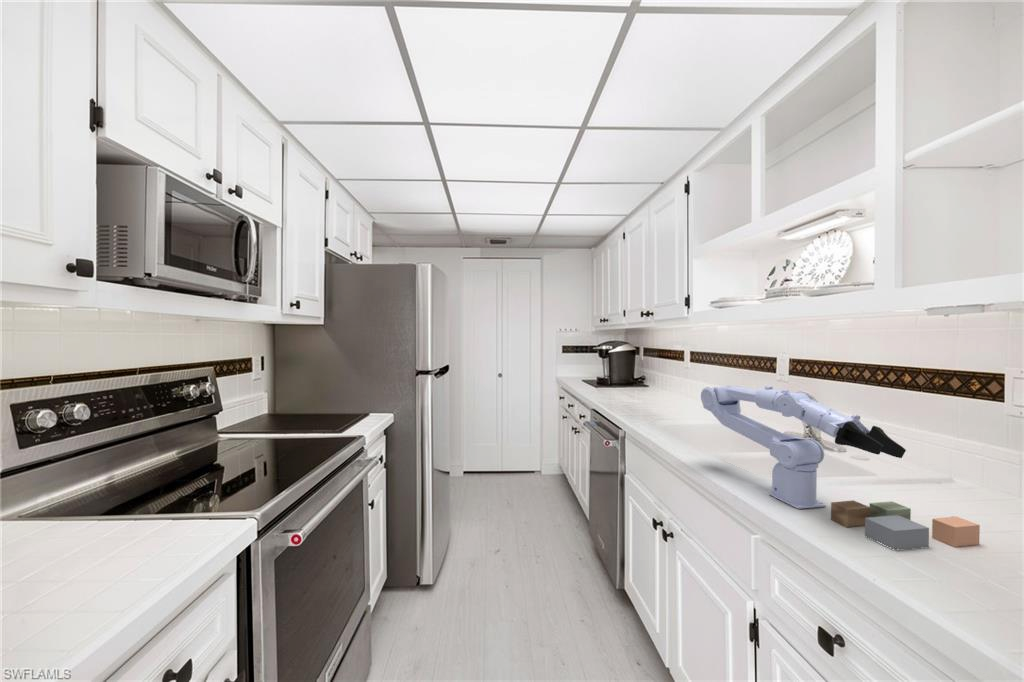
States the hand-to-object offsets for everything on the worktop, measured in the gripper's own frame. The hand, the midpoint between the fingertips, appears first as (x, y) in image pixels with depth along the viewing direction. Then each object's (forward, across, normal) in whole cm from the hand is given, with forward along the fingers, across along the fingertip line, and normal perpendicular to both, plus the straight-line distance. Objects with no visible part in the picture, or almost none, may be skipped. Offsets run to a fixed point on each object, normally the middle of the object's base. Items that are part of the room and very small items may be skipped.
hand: (891, 452), depth 88 cm
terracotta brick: (+9, +15, +13) cm, 22 cm away
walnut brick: (-3, +5, +19) cm, 20 cm away
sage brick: (0, +12, +17) cm, 21 cm away
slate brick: (+6, +4, +17) cm, 18 cm away
